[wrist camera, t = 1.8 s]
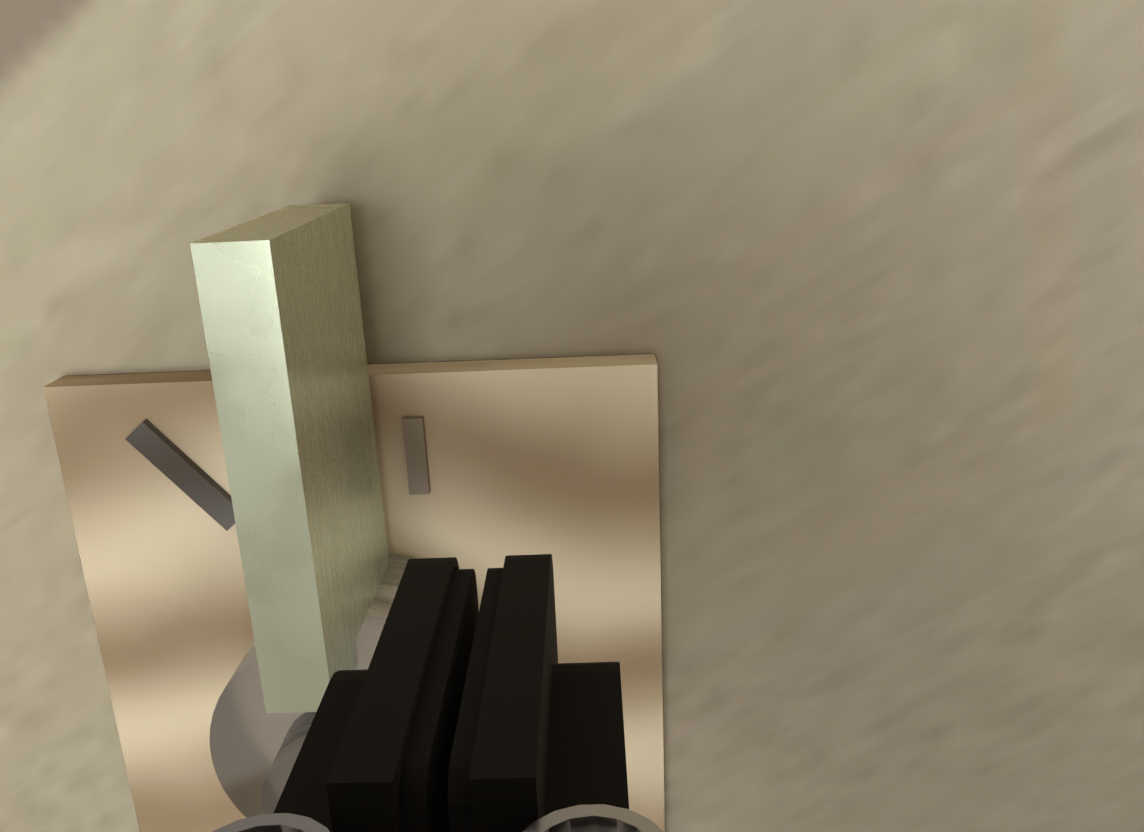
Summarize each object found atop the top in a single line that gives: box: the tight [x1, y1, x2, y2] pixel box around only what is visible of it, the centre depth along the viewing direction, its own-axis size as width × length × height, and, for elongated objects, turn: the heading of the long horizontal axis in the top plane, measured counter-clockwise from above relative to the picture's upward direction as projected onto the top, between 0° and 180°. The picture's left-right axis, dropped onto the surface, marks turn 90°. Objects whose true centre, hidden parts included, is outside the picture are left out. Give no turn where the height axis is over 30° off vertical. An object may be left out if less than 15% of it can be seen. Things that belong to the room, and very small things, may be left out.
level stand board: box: [43, 354, 665, 832], centre depth 32 cm, size 18×18×2 cm
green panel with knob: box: [190, 203, 411, 818], centre depth 26 cm, size 18×7×8 cm, turn 2°
